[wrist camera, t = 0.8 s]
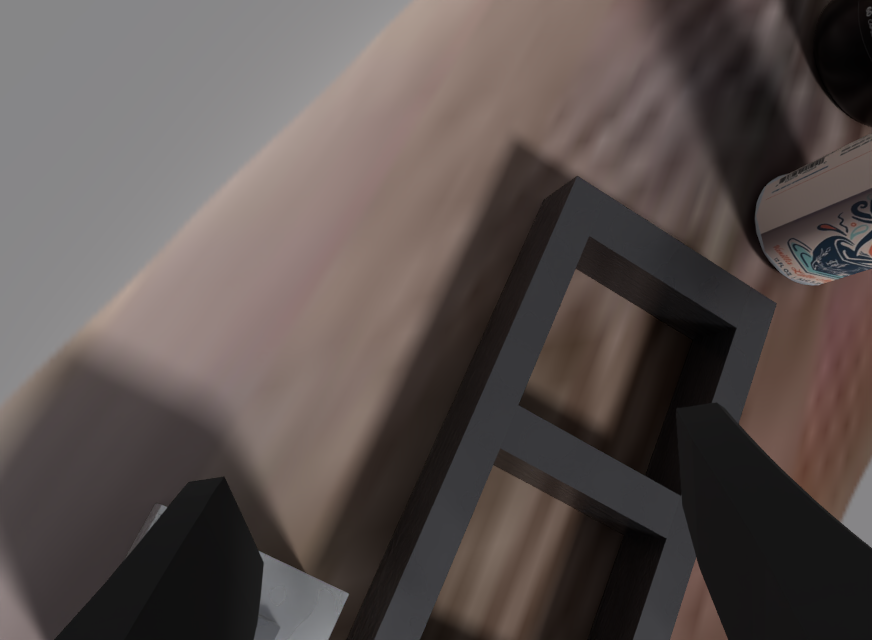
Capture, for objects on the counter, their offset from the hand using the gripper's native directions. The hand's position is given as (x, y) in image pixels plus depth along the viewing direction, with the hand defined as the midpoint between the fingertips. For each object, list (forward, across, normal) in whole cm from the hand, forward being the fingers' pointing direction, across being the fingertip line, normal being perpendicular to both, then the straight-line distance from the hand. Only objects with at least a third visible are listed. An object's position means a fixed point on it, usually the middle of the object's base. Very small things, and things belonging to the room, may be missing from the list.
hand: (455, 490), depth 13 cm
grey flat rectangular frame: (+12, -2, +11) cm, 16 cm away
